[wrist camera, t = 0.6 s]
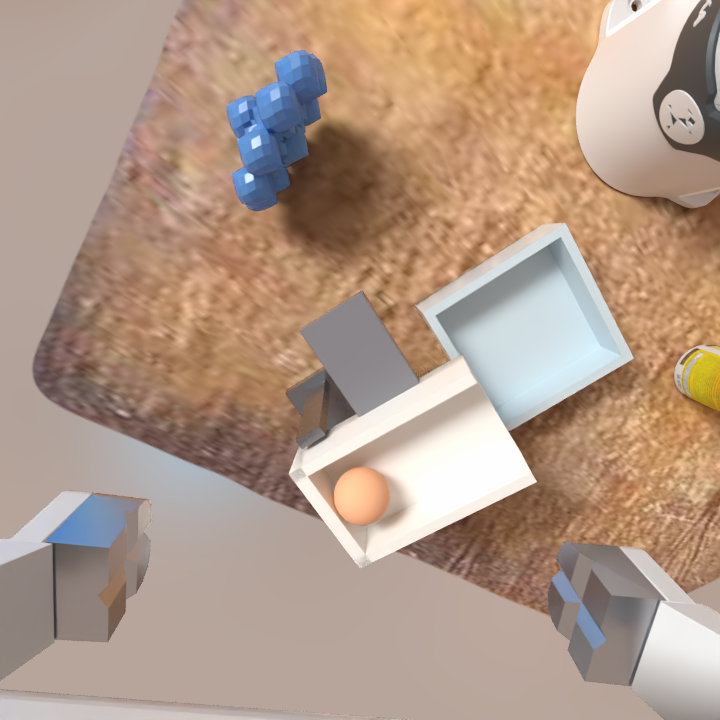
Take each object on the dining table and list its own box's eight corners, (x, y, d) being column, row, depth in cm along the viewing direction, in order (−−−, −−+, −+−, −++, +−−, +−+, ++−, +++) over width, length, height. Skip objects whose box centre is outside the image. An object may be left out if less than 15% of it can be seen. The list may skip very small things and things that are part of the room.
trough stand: (338, 357, 47) (336, 402, 34) (408, 461, 49) (431, 538, 37) (286, 389, 47) (266, 446, 35) (359, 490, 50) (364, 576, 38)
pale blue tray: (543, 223, 44) (565, 222, 40) (607, 346, 47) (633, 358, 43) (414, 305, 46) (422, 312, 41) (484, 419, 49) (498, 437, 44)
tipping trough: (406, 262, 32) (408, 269, 29) (521, 452, 36) (536, 481, 32) (240, 366, 35) (222, 386, 32) (362, 532, 39) (359, 568, 35)
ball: (380, 454, 34) (344, 496, 31) (410, 498, 35) (377, 541, 32) (348, 455, 37) (313, 493, 35) (376, 495, 38) (343, 534, 36)
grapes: (273, 56, 40) (245, -18, 28) (346, 100, 41) (346, 47, 29) (213, 186, 42) (164, 168, 31) (283, 226, 43) (261, 222, 32)
